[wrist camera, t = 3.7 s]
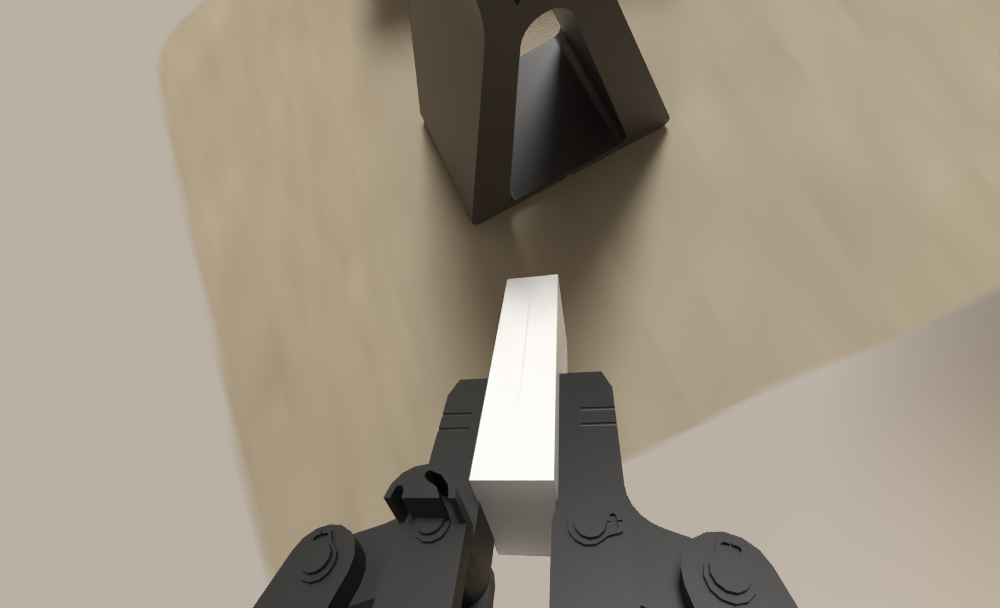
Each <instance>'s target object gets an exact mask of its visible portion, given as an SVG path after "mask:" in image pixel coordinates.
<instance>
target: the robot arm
mask: <svg viewBox="0 0 1000 608" xmlns="http://www.w3.org/2000/svg"><path fill="white" fill-rule="evenodd" d="M384 499H385V501H386V502H387V504H388V506H389V507H390V509H391V511H392V512H393V514H394V515H395V517H396V519H394V520H392V521H390V522H388V523H385V524H383V525H380V526H377V527H374V528H370V529H367V530H364V531H361V532H358V533H355V534H352V533H351V531H349V530H348V529H346V528H345V527H344V526H342V525H331V524H330V525H327V526H324V527H321V528H318V529H316V530H314V531H313V532H311V533H310V534H308V535H307V536H305V537H304V538H303V539H302V540H301V541H300V542H299V544H298V545H297V546H296V547H295V548H294V549H293V550H292V552H291V553H290V555H289V556H288V558H287V559H286V560H285V562H284V563H283V565H282V566H281V568H280V569H279V571H278V572H277V573H276V575H275V576H274V578H273V579H272V581H271V582H270V584H269V585H268V587H267V588H266V589H265V591H264V593H263V594H262V595H261V597H260V598H259V600H258V601H257V603H256V604H255V606H254V607H253V608H493V600H494V591H495V580H494V573H493V570H492V568H491V564H492V555H493V548H494V545H495V547H496V550H497V552H498V554H501V555H529V556H531V555H532V556H551V568H550V608H798V607H797V605H796V604H795V602H794V600H793V599H792V597H791V595H790V594H789V592H788V590H787V589H786V587H785V585H784V584H783V582H782V581H781V579H780V577H779V576H778V574H777V572H776V571H775V569H774V567H773V566H772V565H771V564H770V563H769V561H768V560H767V559H766V558H765V556H764V555H763V554H762V553H761V551H760V550H758V549H757V548H755V547H754V546H753V545H751V544H750V543H748V542H747V541H745V540H744V539H743V538H740V537H737V536H734V535H731V534H728V533H725V532H706V533H703V534H701V535H699V536H697V537H695V538H690V537H687V536H684V535H681V534H678V533H675V532H672V531H669V530H666V529H664V528H662V527H659V526H657V525H655V524H653V523H651V522H650V521H648V520H647V519H646V518H644V517H643V516H641V515H640V514H639V512H638V511H637V510H636V509H635V508H634V507H633V506H632V504H631V502H630V500H629V498H628V496H627V494H626V490H625V486H624V480H623V471H622V463H621V455H620V447H619V439H618V430H617V423H616V414H615V406H614V398H613V390H612V386H611V385H610V383H609V382H608V381H607V379H606V378H605V376H604V375H603V373H602V372H582V373H567V340H566V332H565V325H564V317H563V309H562V302H561V294H560V287H559V279H558V274H555V275H545V276H535V277H524V278H514V279H507V284H506V290H505V295H504V300H503V305H502V310H501V316H500V321H499V326H498V331H497V337H496V342H495V347H494V352H493V358H492V363H491V368H490V373H489V378H488V379H468V380H460V381H459V382H458V383H457V385H456V386H455V387H454V388H453V390H452V391H451V392H450V394H449V395H448V397H447V401H446V404H445V408H444V412H443V417H442V419H441V422H440V426H439V432H438V433H437V436H436V440H435V443H434V447H433V451H432V454H431V458H430V461H429V464H426V465H421V466H416V467H413V468H411V469H410V470H408V471H406V472H404V473H402V474H401V475H400V476H399V477H398V478H397V479H396V480H395V481H394V482H393V483H392V484H391V485H390V487H389V489H388V491H387V492H386V494H385V496H384Z"/></svg>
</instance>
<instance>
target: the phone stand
mask: <svg viewBox="0 0 1000 608" xmlns="http://www.w3.org/2000/svg"><path fill="white" fill-rule="evenodd" d="M408 3H409V13H410V22H411V31H412V40H413V49H414V58H415V68H416V77H417V86H418V95H419V104H420V113H421V115H422V118H423V120H424V122H425V124H426V126H427V128H428V130H429V132H430V135H431V137H432V139H433V141H434V143H435V145H436V147H437V150H438V152H439V154H440V156H441V158H442V160H443V162H444V165H445V167H446V169H447V171H448V173H449V175H450V177H451V180H452V182H453V184H454V186H455V188H456V190H457V192H458V194H459V197H460V199H461V201H462V203H463V205H464V207H465V209H466V212H467V214H468V216H469V218H470V220H471V222H472V224H479V223H482V222H484V221H485V220H487V219H489V218H491V217H493V216H495V215H497V214H499V213H500V212H502V211H504V210H506V209H508V208H510V207H512V206H514V205H516V204H517V203H519V202H521V201H523V200H525V199H527V198H529V197H531V196H533V195H534V194H536V193H538V192H540V191H542V190H544V189H546V188H548V187H550V186H551V185H553V184H555V183H557V182H559V181H561V180H563V179H564V178H565V176H567V175H568V174H574V173H576V172H578V171H580V170H582V169H583V168H585V167H587V166H589V165H591V164H593V163H595V162H597V161H599V160H600V159H602V158H604V157H606V156H608V155H610V154H612V153H614V152H615V151H617V150H619V149H621V148H623V147H625V146H627V145H629V144H631V143H632V142H634V141H636V140H638V139H640V138H642V137H644V136H646V135H648V134H649V133H651V132H653V131H655V130H657V129H659V128H661V127H662V126H664V125H665V124H666V123H667V122H668V120H669V118H670V117H669V115H668V113H667V110H666V108H665V106H664V104H663V102H662V99H661V97H660V95H659V93H658V90H657V88H656V86H655V84H654V81H653V79H652V77H651V75H650V73H649V70H648V68H647V66H646V64H645V61H644V59H643V57H642V55H641V53H640V50H639V48H638V46H637V44H636V41H635V39H634V37H633V35H632V32H631V30H630V28H629V26H628V24H627V21H626V19H625V17H624V15H623V12H622V10H621V8H620V6H619V3H618V1H617V0H408ZM551 9H552V10H553V12H554V14H555V16H556V18H557V20H558V22H559V24H560V26H561V28H560V31H559V33H558V34H557V35H556V36H555V37H554V38H552V39H551V40H549V41H547V42H545V43H544V44H542V45H540V46H538V47H537V48H535V49H533V50H532V51H530V52H528V53H526V54H525V55H523V56H521V57H520V45H521V41H522V38H523V36H524V34H525V32H526V30H527V29H528V27H529V26H530V25H531V23H532V22H533V21H534V20H535V19H536V18H538V17H539V16H540V15H542V14H543V13H545V12H547V11H549V10H551Z"/></svg>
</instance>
